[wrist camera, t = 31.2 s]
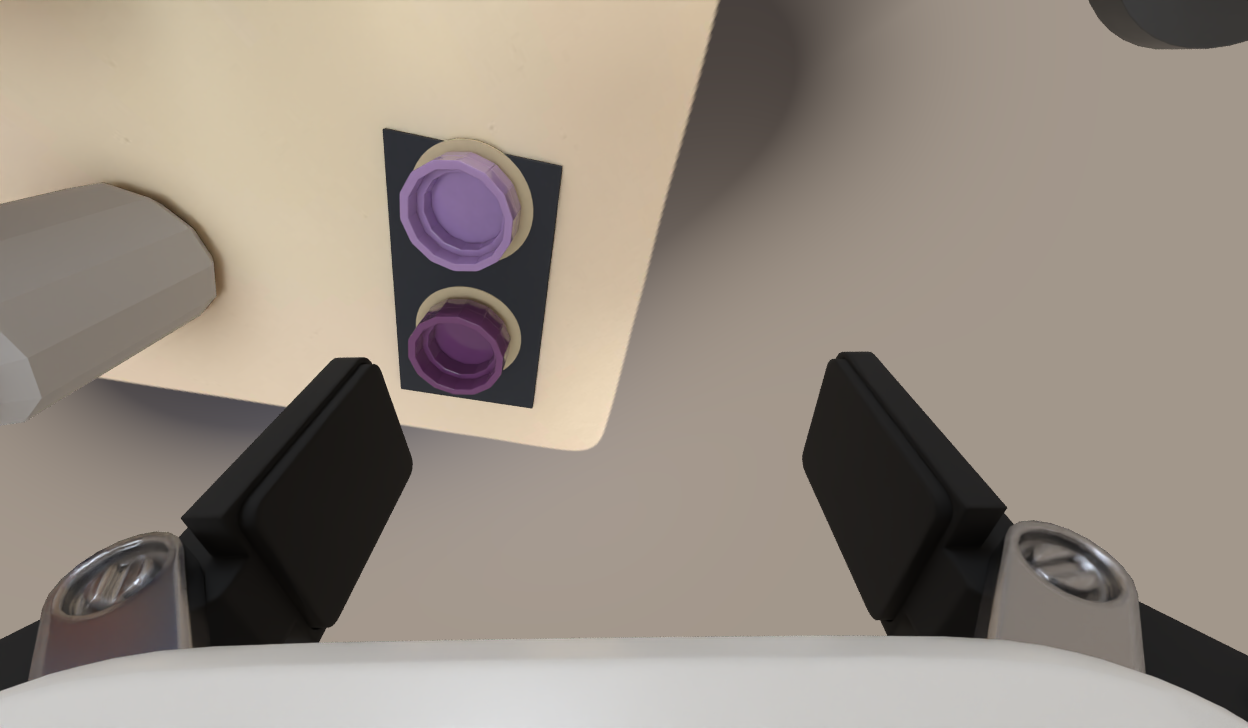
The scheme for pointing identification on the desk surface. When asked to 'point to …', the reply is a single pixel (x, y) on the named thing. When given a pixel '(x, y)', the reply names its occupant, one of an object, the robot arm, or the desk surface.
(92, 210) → the jar
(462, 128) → the desk surface
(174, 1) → the desk surface
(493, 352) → the plum dish
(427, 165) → the lilac dish
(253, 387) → the desk surface
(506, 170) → the mat
